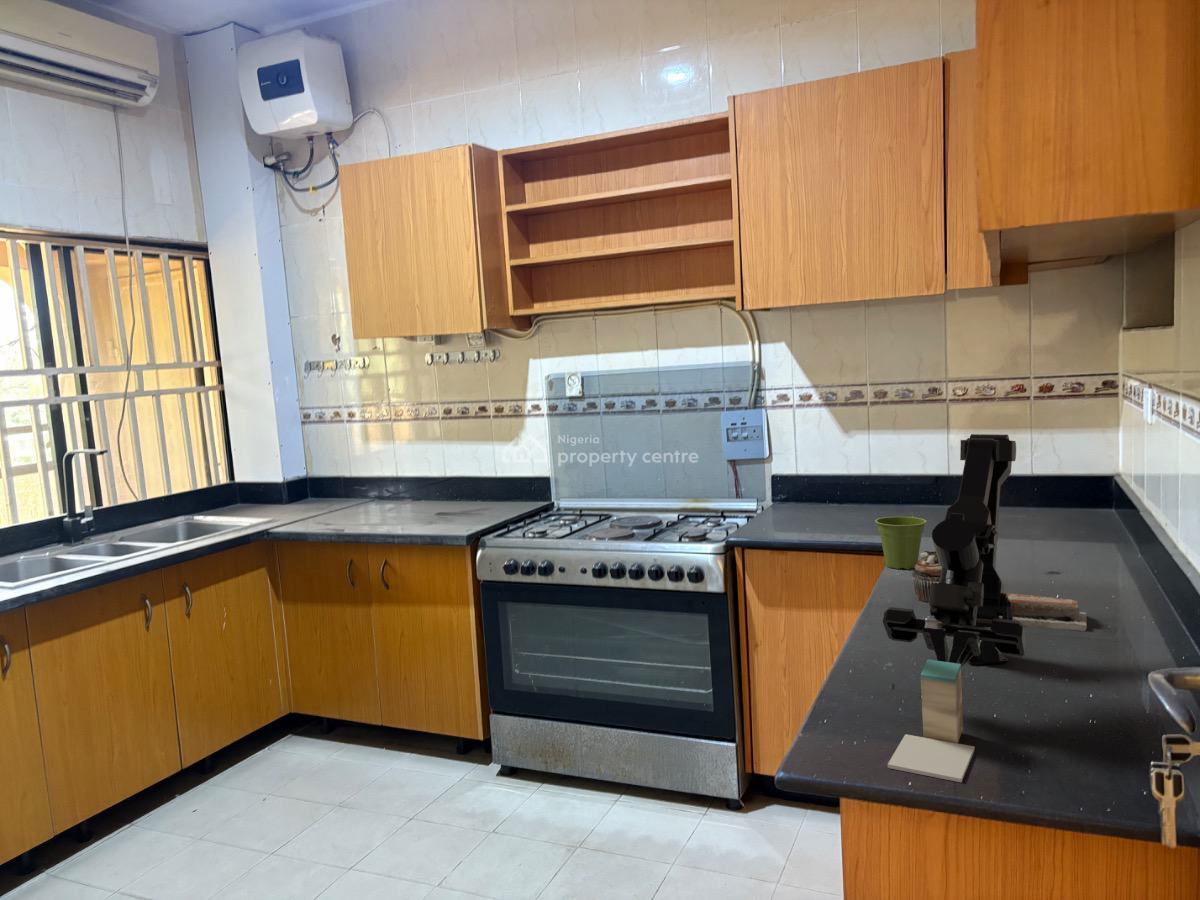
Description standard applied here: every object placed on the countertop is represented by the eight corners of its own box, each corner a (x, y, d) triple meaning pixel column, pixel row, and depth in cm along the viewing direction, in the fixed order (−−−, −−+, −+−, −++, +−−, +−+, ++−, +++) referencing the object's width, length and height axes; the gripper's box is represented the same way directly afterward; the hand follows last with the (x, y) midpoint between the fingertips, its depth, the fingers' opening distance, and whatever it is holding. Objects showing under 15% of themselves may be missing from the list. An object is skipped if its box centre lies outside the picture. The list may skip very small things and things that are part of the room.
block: (930, 722, 128) (927, 659, 125) (962, 728, 125) (960, 663, 123) (923, 739, 124) (920, 674, 121) (957, 745, 122) (954, 679, 119)
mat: (905, 737, 125) (905, 734, 125) (974, 750, 120) (974, 746, 120) (887, 767, 116) (887, 764, 116) (961, 782, 112) (961, 778, 112)
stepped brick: (981, 599, 172) (985, 586, 181) (981, 623, 173) (985, 609, 182) (1087, 608, 164) (1086, 594, 173) (1087, 634, 165) (1086, 618, 173)
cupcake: (903, 594, 194) (903, 548, 193) (946, 591, 195) (946, 545, 193) (923, 606, 184) (923, 558, 183) (968, 603, 185) (968, 555, 184)
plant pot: (933, 563, 218) (932, 517, 217) (918, 574, 209) (918, 527, 208) (884, 558, 225) (884, 514, 224) (868, 569, 216) (867, 523, 215)
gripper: (885, 553, 133) (866, 648, 124) (1024, 564, 123) (1013, 668, 115) (898, 592, 140) (881, 684, 132) (1029, 605, 130) (1020, 705, 122)
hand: (944, 684), depth 125 cm, fingers closed, pressing on block
